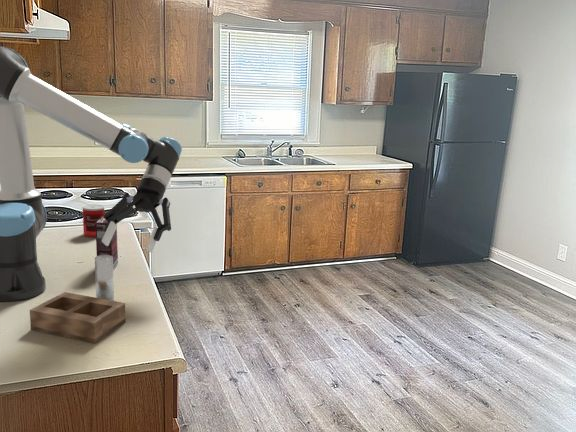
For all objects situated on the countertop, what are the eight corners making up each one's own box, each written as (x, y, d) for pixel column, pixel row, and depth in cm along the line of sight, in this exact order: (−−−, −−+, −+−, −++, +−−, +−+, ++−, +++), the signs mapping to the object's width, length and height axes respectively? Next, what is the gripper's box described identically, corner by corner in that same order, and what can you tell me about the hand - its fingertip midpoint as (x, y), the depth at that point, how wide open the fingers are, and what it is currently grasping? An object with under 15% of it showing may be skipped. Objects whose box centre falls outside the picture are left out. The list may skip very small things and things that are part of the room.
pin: (92, 306, 136) (91, 258, 133) (103, 300, 140) (101, 254, 137) (107, 308, 135) (106, 261, 132) (117, 302, 139) (116, 256, 136)
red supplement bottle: (97, 230, 204) (96, 203, 201) (109, 235, 199) (108, 207, 196) (79, 234, 198) (78, 206, 195) (90, 238, 193) (89, 210, 190)
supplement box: (103, 263, 168) (101, 215, 165) (118, 263, 169) (117, 216, 165) (96, 272, 160) (94, 222, 156) (112, 272, 161) (111, 223, 157)
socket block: (30, 329, 122) (29, 310, 121) (65, 310, 133) (64, 291, 132) (95, 343, 117) (94, 322, 116) (125, 322, 128) (125, 303, 127)
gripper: (196, 195, 153) (172, 259, 143) (122, 187, 159) (93, 247, 149) (188, 180, 147) (162, 246, 137) (111, 172, 153) (80, 234, 143)
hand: (126, 247), depth 143 cm, fingers open, 13 cm apart
